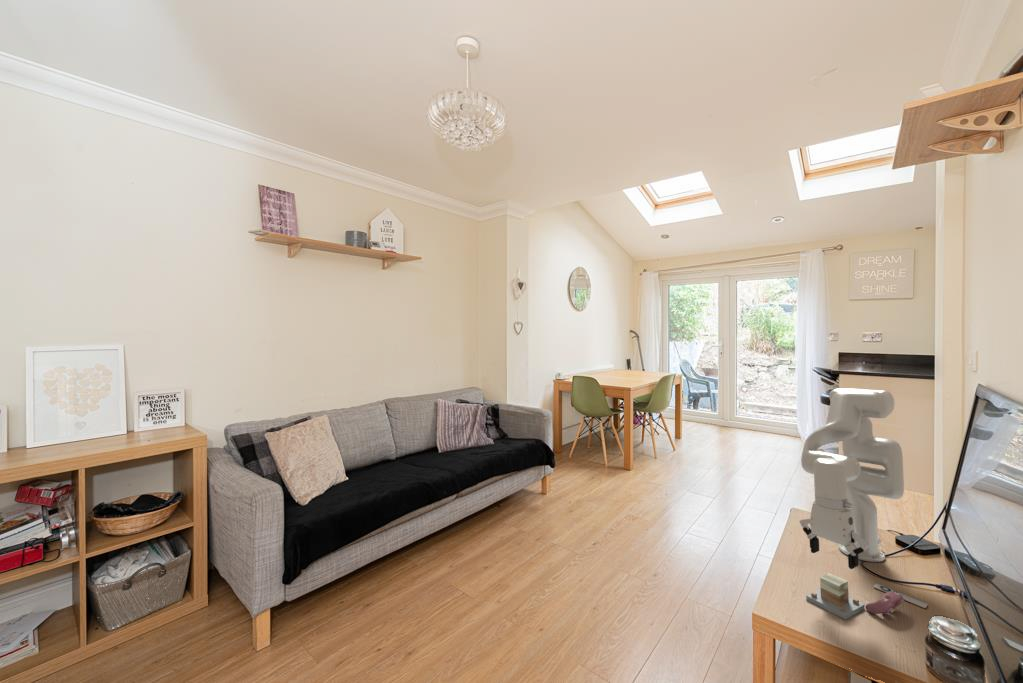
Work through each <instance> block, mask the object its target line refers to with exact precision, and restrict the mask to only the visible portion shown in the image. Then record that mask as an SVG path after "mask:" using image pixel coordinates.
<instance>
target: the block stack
mask: <svg viewBox="0 0 1023 683" xmlns="http://www.w3.org/2000/svg"><path fill="white" fill-rule="evenodd" d="M819 581H820V582H819V583H820V585H819V586H820V588H821V598H822V599H824V600H827V601H829V602H831V603H833V604H835V605H837V606H839V607H840V606H842V605H844V604H846V603H848V602H849V597H850V596H849V581H848V580H845V579H844V578H841V577H839V576H836V575H834V574H832V573H830V572H828V573H826V574H825V575H822V576H821V577H819Z"/></svg>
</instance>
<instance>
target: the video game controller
mask: <svg viewBox="0 0 1023 683" xmlns="http://www.w3.org/2000/svg"><path fill="white" fill-rule="evenodd" d="M905 599H906V598H905V597H904V596H903V595H902V594H900V593H897V592H896V591H891V592H890V591H888V592H885V593H884V594H882V595H881V596H880V598H879V599H878V600H877V601H875V602H869V603H866V604H865V609H866V611H867V612H869V613H871V614H873V615H874V614H875V615H878V614H879V615H881V614H883V615H885V616H886V615H888V614H889V613H891V614H892V613H894V612H896V611H897V608H898V607H899V606H901V605H902V604H903V602H904V601H905Z"/></svg>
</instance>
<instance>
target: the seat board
mask: <svg viewBox="0 0 1023 683" xmlns="http://www.w3.org/2000/svg"><path fill="white" fill-rule="evenodd" d="M805 597H806V600H807V601H808V602H810V603H813V604H814V605H816V606H818V607H821V608H822V609H824V610H825V611H828V612H830V613H832V614H834V615H836V616H837V617H839V618H842V619H844V620H847V619H849V618H851V617H853V616H854V615H856V614H858V613H860V612H861V611H863V610H865V609H866V606H865V603H862V602H861V601H860V599H857V598H855V597H854V598H852V597H850V596H849V602H848V603H846V604H844V605H842V606H840V607H839V606H837V605H835V604H833V603H831V602H829V601H827V600H824V599H822V598H821V587H820V588H819V589H816V590H815V591H812V592H810V593H808V594H807V595H806V596H805Z"/></svg>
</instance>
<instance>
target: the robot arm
mask: <svg viewBox="0 0 1023 683" xmlns="http://www.w3.org/2000/svg"><path fill="white" fill-rule="evenodd" d="M828 396H829V401H830V403H829V407H828V413H827V419H826V424H824V425H823V426H821V427H819V428H817V429H815V430H814V431H813V432H812V433H810V434H809V435H808V437H806V439H805V441H804V444H803V448H802V453H801V461H800V462H801V468H802V469H803V470H804V471H805V472H806V473H809V474H811V475H813V479H814V501H813V502H812V506H811V510H810V518H804V519H801V520H799V524H800V526H801V527H802V530H803V532H804V534H805V535H806V536H807V539H808V540H809V548H810V553H812V554H815V553H818V552H820V539H825V540H826V541H829V542H832V543H835V544H837V545H838V549H839V550H840V551H841V552H842V553H843V554H845V555H846V556H847V559H848V560H847V561H848V566H847V567H848V568H849V569H850V570H853V569H855V568H856V567H858V566H859V560H860V561H863V562H864V561H866V562H871V563H880V562H883V561H884V560H885V559H886V556H885V553H884V552H883V551H881V550H880V548H879V545H880V544H881V543H882V540H881V539H880V538H879V531H878V530H879V528H878V527H879V526H878V508H877V505H876V504H875V501H873V499H872V498H871V497H870V496H874V497H879V498H885V499H891V500H899V499H901V498H903V497H904V492H905V483H904V482H905V480H904V478H905V477H904V460H903V459H904V457H903V451H902V447H901V445H900V443H899V442H897V440H894V439H891V438H884V437H875V436H874V435H873V422H872V421H871V419H870V418H872V419H873V418H874V419H885V418H887V417H888V416H890V415H892V412H893V411H894V409H895V399H894V396H893V394H892V393H891V391H889V390H883V389H868V388H867V389H866V388H865V389H864V388H849V387H848V388H847V387H846V388H845V387H844V388H835V389H832V390H830V392H829V395H828ZM839 442H841V443H842V444H841V445H842V447H841V448H842V453H843V454H842V453H834V452H828V451H822V450H818V449H820V448H821V447H823V446H825V445H829V444H833V443H839ZM860 463H864V464H871V465H875V466H882V467H883V468H884V469H882V468H878V467H877V468H876V467H870V466H867V465H866V466H865V465H861V464H860ZM808 524H809V525H810V526H809V525H808ZM819 538H820V539H819Z"/></svg>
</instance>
